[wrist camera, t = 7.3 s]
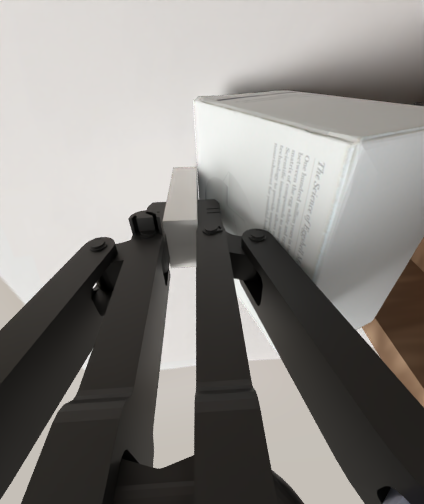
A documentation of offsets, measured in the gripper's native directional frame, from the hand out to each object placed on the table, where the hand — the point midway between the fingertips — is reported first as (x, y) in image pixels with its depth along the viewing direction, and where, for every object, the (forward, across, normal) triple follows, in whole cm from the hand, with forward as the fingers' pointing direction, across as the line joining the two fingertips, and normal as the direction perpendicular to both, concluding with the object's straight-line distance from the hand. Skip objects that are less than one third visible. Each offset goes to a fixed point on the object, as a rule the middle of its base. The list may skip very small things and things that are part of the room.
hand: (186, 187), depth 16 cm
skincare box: (+1, +4, 0) cm, 4 cm away
